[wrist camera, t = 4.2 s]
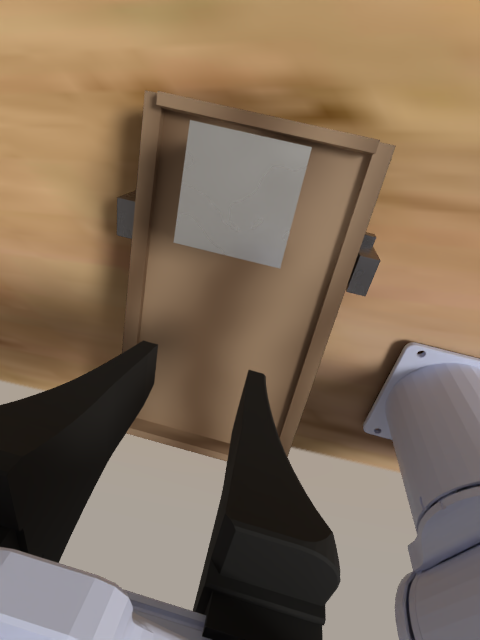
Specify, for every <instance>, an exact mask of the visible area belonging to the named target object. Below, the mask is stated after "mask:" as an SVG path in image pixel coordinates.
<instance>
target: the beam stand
mask: <svg viewBox="0 0 480 640" xmlns="http://www.w3.org/2000/svg"><path fill="white" fill-rule="evenodd" d="M135 199H136V191H133V192H131V193H128V194H125V195H123V196H120V197H117V235H118V236H122V237H126V238H130V239H132V234H133V222H134V211H135ZM375 239H376V236H375V234H371V233H367V232H366V233H365V235H364V238H363V241H362V244H361V247H360V250H359V253H358V256H357V258H356V261H355V264H354V267H353V270H352V273H351V276H350V279H349V281H348V284H347V287H346V292H350V293H354V294H358V295H362V296H366V294H367V291H368V289H369V287H370V284H371V282H372V279H373V277H374V275H375V272H376V270H377V268H378V265H379V263H380V259H379V257H378V255H377V253H376V251H375V249H374V248H373V244H374V242H375Z"/></svg>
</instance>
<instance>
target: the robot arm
mask: <svg viewBox="0 0 480 640" xmlns="http://www.w3.org/2000/svg"><path fill="white" fill-rule="evenodd" d="M418 351H424V352H423V353H421V354H417V353H418ZM157 352H158V344H154V343H151V342H147V341H144V340H143V341H142V342H140V343H138V344H136V345H135V346H133V347H132V348H130V349H128V350H127V351H125V352H124V353H122V354H120V355H119V356H117V357H115V358H114V359H112V360H110V361H108V362H107V363H105V364H103V365H101V366H100V367H98V368H96V369H94V370H92V371H90V372H88V373H86V374H84V375H82V376H80V377H78V378H76V379H74V380H72V381H70V382H67V383H65V384H63V385H60V386H58V387H55V388H53V389H50V390H47V391H44V392H42V393H39V394H36V395H33V396H30V397H27V398H24V399H21V400H18V401H14V402H10V403H7V404H3V405H0V640H322V625H324V624H325V604H326V602H327V601H328V600H329V598H330V597H331V596H332V594H333V593H334V592H335V590H336V589H337V588H338V585H339V583H340V566H339V559H338V554H337V548H336V544H335V540H334V535H333V532H332V531H331V530H330V528H329V527H328V525H327V524H326V523H325V521H324V520H323V518H322V517H321V516H320V514H319V513H318V511H317V510H316V508H315V507H314V505H313V504H312V502H311V500H310V499H309V497H308V496H307V494H306V492H305V491H304V489H303V487H302V485H301V483H300V482H299V480H298V478H297V476H296V474H295V472H294V470H293V468H292V466H291V464H290V462H289V460H288V458H287V456H286V453H285V451H284V448H283V446H282V443H281V441H280V438H279V435H278V432H277V429H276V426H275V423H274V420H273V416H272V412H271V408H270V404H269V399H268V394H267V387H266V376H265V375H264V374H263V373H259V372H256V371H252V370H248V374H247V377H246V381H245V384H244V388H243V392H242V395H241V399H240V402H239V406H238V410H237V414H236V417H235V421H234V425H233V429H232V434H231V441H230V447H229V454H228V460H227V467H226V473H225V480H224V486H223V491H222V496H221V500H220V504H219V508H218V512H217V516H216V520H215V524H214V529H213V532H212V536H211V541H210V544H209V548H208V553H207V557H206V560H205V564H204V569H203V573H202V576H201V580H200V585H199V589H198V592H197V596H196V600H195V604H194V608H193V611H190V610H187V609H184V608H181V607H177V606H174V605H171V604H168V603H165V602H161V601H158V600H155V599H152V598H149V597H145V596H142V595H139V594H136V593H133V592H130V591H127V590H123V589H122V588H120V587H119V586H118V585H117V584H115V583H114V582H111V581H109V580H107V579H105V578H102V577H100V576H98V575H95V574H92V573H88V572H85V571H82V570H79V569H76V568H72V567H69V566H66V565H63V564H60V563H59V561H60V558H61V556H62V554H63V552H64V549H65V547H66V545H67V543H68V541H69V539H70V536H71V534H72V532H73V530H74V528H75V526H76V524H77V522H78V520H79V518H80V515H81V513H82V511H83V509H84V507H85V505H86V503H87V501H88V499H89V497H90V495H91V493H92V491H93V489H94V487H95V485H96V483H97V481H98V479H99V478H100V476H101V474H102V472H103V470H104V468H105V466H106V464H107V462H108V461H109V458H110V457H111V455H112V453H113V452H114V451H115V449H116V447H117V446H118V444H119V442H120V441H121V440H122V438H123V437H124V435H125V434H126V432H127V431H128V429H129V428H130V426H131V425H132V423H133V422H134V420H135V418H136V417H137V415H138V414H139V412H140V411H141V409H142V408H143V406H144V404H145V402H146V400H147V398H148V396H149V394H150V392H151V390H152V388H153V385H154V381H155V371H156V361H157ZM377 428H379V429H378V430H375V429H377ZM363 429H364V431H365V432H366V433H368V434H372V435H376V436H380V437H383V438H387V439H391V440H392V441H393V445H394V448H395V452H396V456H397V460H398V463H399V467H400V471H401V475H402V479H403V482H404V486H405V489H406V493H407V497H408V501H409V505H410V509H411V513H412V516H413V520H414V524H415V528H416V531H417V537H416V539H415V541H413V542H412V543H411V544H409V545H408V550H409V555H410V559H411V563H412V568H413V572H411V573H409V574H407V575H406V576H405V577H404V578H403V579H402V580H401V582H400V584H399V586H398V589H397V593H396V599H395V617H396V625H397V631H398V636H399V640H480V359H479V358H475V357H471V356H467V355H463V354H459V353H455V352H451V351H447V350H443V349H439V348H435V347H431V346H427V345H423V344H419V343H415V342H411V343H408V344H406V345H405V346H404V348H403V350H402V352H401V354H400V355H399V357H398V359H397V361H396V363H395V365H394V367H393V369H392V371H391V373H390V374H389V376H388V378H387V380H386V382H385V384H384V386H383V388H382V390H381V391H380V393H379V395H378V397H377V399H376V401H375V403H374V405H373V407H372V409H371V410H370V412H369V414H368V416H367V418H366V420H365V422H364V424H363Z"/></svg>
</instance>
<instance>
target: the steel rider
mask: <svg viewBox="0 0 480 640" xmlns="http://www.w3.org/2000/svg"><path fill="white" fill-rule="evenodd" d="M311 149H312V147H309V146H304V145H300V144H295V143H291V142H286V141H282V140H277V139H273V138H268V137H264V136H259V135H255V134H251V133H246V132H242V131H237V130H233V129H228V128H224V127H219V126H215V125H210V124H206V123H201V122H197V121H192V120H190V124H189V131H188V139H187V146H186V154H185V161H184V169H183V176H182V183H181V191H180V198H179V206H178V213H177V221H176V228H175V236H174V243H177V244H181V245H186V246H190V247H194V248H198V249H202V250H206V251H210V252H214V253H218V254H222V255H227V256H231V257H235V258H239V259H243V260H247V261H251V262H255V263H259V264H263V265H268V266H272V267H276V268H280V267H281V263H282V259H283V256H284V252H285V248H286V244H287V240H288V237H289V233H290V229H291V225H292V221H293V218H294V214H295V210H296V206H297V202H298V198H299V195H300V191H301V187H302V183H303V179H304V176H305V172H306V168H307V164H308V160H309V157H310V153H311Z"/></svg>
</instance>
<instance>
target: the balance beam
mask: <svg viewBox="0 0 480 640" xmlns="http://www.w3.org/2000/svg"><path fill="white" fill-rule="evenodd" d="M190 120H192V121H197V122H201V123H206V124H210V125H215V126H219V127H224V128H228V129H233V130H237V131H242V132H246V133H251V134H255V135H259V136H264V137H268V138H273V139H277V140H282V141H286V142H291V143H295V144H300V145H304V146H309V147H312V149H311V153H310V157H309V160H308V164H307V168H306V172H305V176H304V179H303V183H302V187H301V191H300V195H299V198H298V202H297V206H296V210H295V214H294V218H293V221H292V225H291V229H290V233H289V237H288V240H287V244H286V248H285V252H284V256H283V259H282V263H281V267H280V268H276V267H272V266H268V265H263V264H259V263H255V262H251V261H247V260H243V259H239V258H235V257H231V256H227V255H222V254H218V253H214V252H210V251H206V250H202V249H198V248H194V247H190V246H186V245H181V244H177V243H174V236H175V228H176V221H177V213H178V206H179V198H180V191H181V183H182V176H183V169H184V161H185V154H186V146H187V139H188V131H189V124H190ZM395 147H396V146H394V145H390V144H385V143H381V142H380V140H377V139H373V138H368V137H364V136H359V135H355V134H350V133H346V132H341V131H337V130H332V129H327V128H323V127H318V126H314V125H309V124H305V123H300V122H296V121H291V120H287V119H282V118H278V117H273V116H269V115H264V114H260V113H255V112H251V111H246V110H241V109H237V108H232V107H228V106H223V105H219V104H214V103H210V102H205V101H201V100H196V99H192V98H187V97H183V96H178V95H174V94H169V93H165V92H160V91H158V92H157V93H155V92H150V91H146V90H145V97H144V108H143V120H142V131H141V142H140V154H139V165H138V177H137V188H136V199H135V211H134V222H133V234H132V245H131V256H130V268H129V279H128V291H127V302H126V313H125V325H124V336H123V348H122V353H124V352H125V351H127V350H128V349H130V348H132V347H133V346H135V345H136V344H138V343H140V342H142V341H143V340H144V341H147V342H151V343H154V344H158V352H157V361H156V371H155V381H154V385H153V388H152V390H151V392H150V394H149V396H148V398H147V400H146V402H145V404H144V406H143V408H142V409H141V411H140V412H139V414H138V415H137V417H136V418H135V420H134V422H133V423H132V425H131V426H130V428H129V429H128V431H127V432H126V433H127V434H130V435H134V436H137V437H142V438H145V439H148V440H152V441H155V442H159V443H163V444H166V445H170V446H173V447H177V448H181V449H184V450H188V451H191V452H195V453H199V454H203V455H206V456H209V457H213V458H217V459H220V460H224V461H227V460H228V454H229V447H230V441H231V434H232V429H233V425H234V421H235V417H236V414H237V410H238V406H239V402H240V399H241V395H242V392H243V388H244V384H245V381H246V377H247V374H248V370H252V371H256V372H259V373H263V374H264V375H265V376H266V387H267V394H268V399H269V404H270V408H271V412H272V416H273V420H274V423H275V426H276V429H277V432H278V435H279V438H280V441H281V443H282V446H283V448H284V451H285V453H286V456H288V454H289V451H290V448H291V445H292V442H293V439H294V436H295V433H296V431H297V428H298V425H299V422H300V419H301V416H302V413H303V411H304V408H305V405H306V402H307V399H308V396H309V393H310V390H311V388H312V385H313V382H314V379H315V376H316V373H317V370H318V367H319V365H320V362H321V359H322V356H323V353H324V350H325V347H326V345H327V342H328V339H329V336H330V333H331V330H332V327H333V324H334V322H335V319H336V316H337V313H338V310H339V307H340V304H341V301H342V299H343V296H344V293H345V290H346V287H347V284H348V281H349V279H350V276H351V273H352V270H353V267H354V264H355V261H356V258H357V256H358V253H359V250H360V247H361V244H362V241H363V238H364V235H365V233H366V230H367V227H368V224H369V221H370V218H371V215H372V213H373V210H374V207H375V204H376V201H377V198H378V195H379V192H380V190H381V187H382V184H383V181H384V178H385V175H386V172H387V169H388V167H389V164H390V161H391V158H392V155H393V152H394V149H395Z"/></svg>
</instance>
